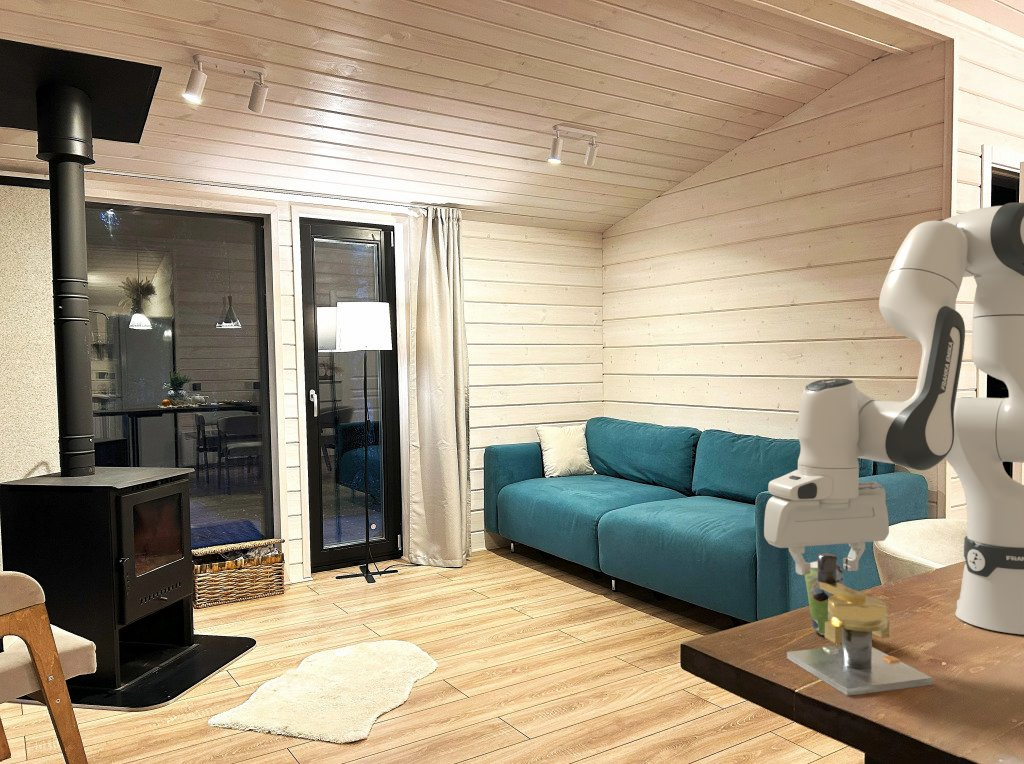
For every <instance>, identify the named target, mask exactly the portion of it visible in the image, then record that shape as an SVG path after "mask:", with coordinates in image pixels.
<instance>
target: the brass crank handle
mask: <svg viewBox="0 0 1024 764" xmlns="http://www.w3.org/2000/svg"><path fill="white" fill-rule="evenodd" d="M817 561H818V581H819V582H820V587H819V588H820V589H822V590H825V591H827V592H829V593H831V594H834V595H832V596H830V597H829V598H828V621H826V622H825V635H824V638H825V639H827V640H828V641H830V642H832V643H834V644H840V643H841V644H842V628H845V629H849V630H855V631H872V635H875V636H878V637H879V638H882V639H885V638H886V639H888V638H890V621H889V620H888V603H886V602H885V601H884V600H882V599H880V598H877V597H873V596H869V595H866V594H865V593H863V592H861V591H859V590H856V589H854V588H852V587H849V586H847V585H846V584H845V585H842V584H840V583H838V582H837V563H838V556H837V554H834V553H828V552H823V553H822V552H821V553H818V554H817Z"/></svg>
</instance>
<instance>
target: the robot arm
mask: <svg viewBox="0 0 1024 764" xmlns="http://www.w3.org/2000/svg"><path fill="white" fill-rule="evenodd" d="M966 277H967V278H969V277H973V279H974V280H975V283H976V288H975V293H974V298H973V299H974V300H973V308H972V324H971V326H972V329H971V352H970V353H971V360H972V362H973V364H974V365H975V367H976V368H977V369H978V370H979V371H981V372H983V373H985V374H986V375H989V376H990V377H992V378H995V379H996V380H999V381H1002V382H1003V383H1004V384H1005V385H1006V388H1007V390H1008V397H1001V398H1000V397H974V396H973V397H968V396H963V397H957V393H958V388H959V381H960V374H961V370H962V369H961V368H962V362H963V357H964V356H963V355H964V350H965V341H966V326H965V321H964V318H963V317H962V314H961V313H959V312H958V311H957V308H956V307H957V306H956V304H957V298H958V295H959V292H960V289H961V286H962V283H963V278H966ZM881 287H882V288H881V291H880V294H879V300H878V309H879V312H880V315H881V316H882V319H883V320H884V321H885V322H886V324H887V325H888V326H889V327H890V328H892V329H893V330H894V331H895V332H897V333H898V334H899V335H901V336H904V337H906V338H907V339H910V340H912V341H914V342H916V343H920V345H921V359H920V363H919V370H918V376H917V380H916V386H915V391H914V392H913V393H914V394H913V395H912V396H911V397H910V398H908V399H907V400H904V401H897V400H882V399H874V397H871V396H869V395H867V394H866V393H864V392H861V390H860V389H858V388H857V387H856V384H855V381H853V380H851V379H849V378H840V377H839V378H830V379H829V378H828V379H819V380H815V381H812V382H810V383H808V384H806V385H805V386H804V388H803V391H802V393H801V395H800V399H799V400H800V401H799V405H798V418H797V421H798V422H797V436H798V441H799V445H800V451H799V456H798V459H797V469H795V470H793V471H790V472H788V473H787V474H784V475H782V476H779V477H777V478H774V479H772V480H770V481H769V482H768V483H767V484H768V487H767V490H768V492H769V494H771V495H773V496H771V497H770V498H769V499H768V500H767V503H766V504H765V505H766V506H765V511H764V521H763V522H764V523H763V524H764V525H763V535H764V539H765V540H766V542H767V543H768V544H769V545H771V546H773V547H775V548H778V549H779V548H780V549H786V548H788V551H789V554H790V556H791V557H792V559H793V562H795V573H796V574H797V575H798V576H799V575H800V576H805V575H807V574H810V568H811V564H810V562H807V561H806V560H805V559H804V557H803V554H805V552H806V548H805V547H813V546H829V545H831V546H832V545H843V544H848V546H849V547H851V548H850V550H849V552H848V555H847V557H843V558H842V563H843V565H842V568H843V570H845V571H848V572H854V571H855V572H857V571H858V570H859V560H860V559H861V557H862V555H863V553H864V552H865V550H866V543H871V542H874V543H875V542H883V541H884V542H885V541H886V539H887V538H888V536H889V533H890V530H889V529H890V525H889V523H890V521H889V514H888V506H887V502H886V498H887V497H886V496H887V495H886V489H885V488H884V487H883V485H881V484H879V483H878V482H877V481H872V480H871V481H868V482H867V481H866V482H865V481H864V482H863V481H859V479H860V476H859V475H860V474H859V473H860V472H859V471H860V463H859V459H862V460H870V461H873V462H878V463H879V462H880V463H884V464H885V463H886V464H887V463H888V464H892V465H893V464H894V465H897V466H900V467H904V468H909V469H912V470H916V471H927V470H930V469H932V468H934V467H936V466H937V465H938V464H939V463H941V462H942V461H943V460H946V461H947V463H949V465H950V466H951V468H953V470H954V472H955V474H956V475H957V477H958V478H959V481H960V483H961V485H962V488H963V491H964V496H965V504H966V505H965V507H966V526H967V527H966V533H967V534H966V536H965V537H964V538H963V539H964V540H963V542H964V543H963V557H964V560H965V564H964V566H963V567H964V568H963V573H962V580H961V587H960V595H959V599H957V600H956V610H955V613H954V614H955V616H956V617H957V618H958V619H959V620H961V621H963V622H965V623H968V624H970V625H972V626H975V627H979V628H982V629H986V630H989V631H990V630H991V631H995V632H1002V633H1006V634H1007V633H1008V634H1014V635H1015V634H1017V635H1023V636H1024V484H1022V483H1020V482H1019V481H1017V480H1014V479H1013V478H1012V477H1011V476H1010V475H1008V473H1007V472H1006V470H1005V467H1004V465H1003V463H1004V462H1009V463H1021V464H1024V202H1008V203H1005V204H1003V205H994V206H988V207H987V206H986V207H982V208H976V209H972V210H969V211H967V212H963V213H960V214H956V215H954V216H951V217H947V218H945V219H944V218H943V219H941V218H940V219H937V220H929V221H923V222H921V223H919V224H917V225H915V226H914V227H913V228H911V230H910V231H909V232H908V234H907V235H906V236H905V238H904V240H903V241H902V243H901V244H900V247H899V248H898V250H897V252H896V254H895V255H894V258H893V260H892V262H891V265H890V267H889V268H888V272H887V273H886V277H885V280H884V281H883V285H882V286H881Z"/></svg>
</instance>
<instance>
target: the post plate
mask: <svg viewBox="0 0 1024 764" xmlns="http://www.w3.org/2000/svg"><path fill="white" fill-rule="evenodd" d="M872 640H873V633H872V631H855V630H849V629H845V628H842V643H841V645H838V646H833V645H826V646H825V645H824V646H822V647H819V648H810V649H802V650H791V651H786V652H787V653H786V659H788V660H789V661H791V662H792V663H794V664H796V665H797V666H799V667H800V668H802V669H804V670H805V671H807V672H808V673H810V674H812V675H813V676H814V677H816V678H818V679H819V680H820V681H823V682H824V683H825V684H828V685H829V687H830V686H831V687H833V688H834V689H836V690H837V691H839V692H841V694H843V695H845V696H846V697H849V696H855V695H865V694H870V693H878V692H887V691H893V690H895V691H896V690H902V689H909V688H916V687H924V686H931V685H933V677H932V676H930V675H927V674H926V673H924V672H922V671H920V670H918V669H916V668H914V667H912V666H911V665H908V664H907V663H904V662H903V661H900V658H897V657H895V656H893V655H889V654H887V653H885V652H883V651H881V650H879V649H877V648H875V647H873V643H872V642H873V641H872Z"/></svg>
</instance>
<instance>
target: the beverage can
mask: <svg viewBox="0 0 1024 764" xmlns="http://www.w3.org/2000/svg"><path fill="white" fill-rule="evenodd" d="M809 563H810V564H811V568H810V574H807V575H804V580H805V586H806V592H807V598H808V599H807V600H808V604H809V611H810V618H811V624H812V625H811V626H812V629H813V631H815V632H817V633H818V634H819V635H821V636H825V622H826V621H828V598H829V597H830V596H832V595H834V594H831V593H829V592H827V591H825V590H822V589H820V588H819V587H820V582H819V581H818V560H816V561H810V562H809ZM844 578H845V577H844V574H843V570H842V568H841V567H840V566H839V565H838V562H837V582H838V583H840V584H842V585H845V586H846V584H845V579H844Z"/></svg>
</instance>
